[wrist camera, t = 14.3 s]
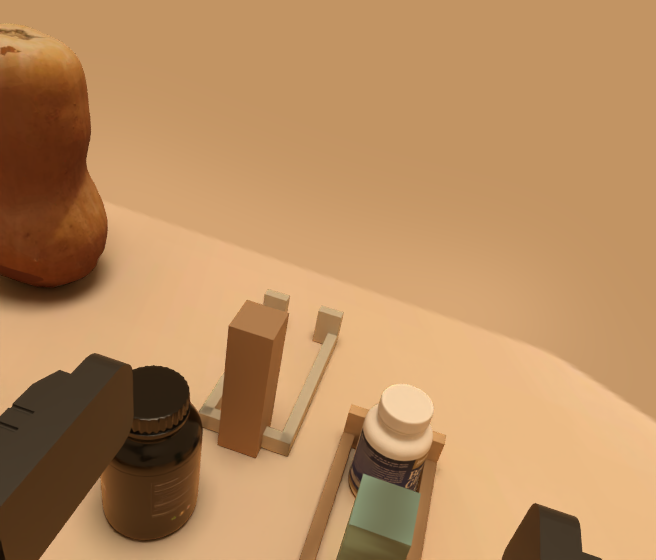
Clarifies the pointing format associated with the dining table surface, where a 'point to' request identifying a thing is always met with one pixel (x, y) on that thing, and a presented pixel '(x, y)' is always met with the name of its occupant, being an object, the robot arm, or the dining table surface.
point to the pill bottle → (394, 438)
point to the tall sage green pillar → (376, 506)
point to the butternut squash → (45, 163)
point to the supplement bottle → (155, 459)
